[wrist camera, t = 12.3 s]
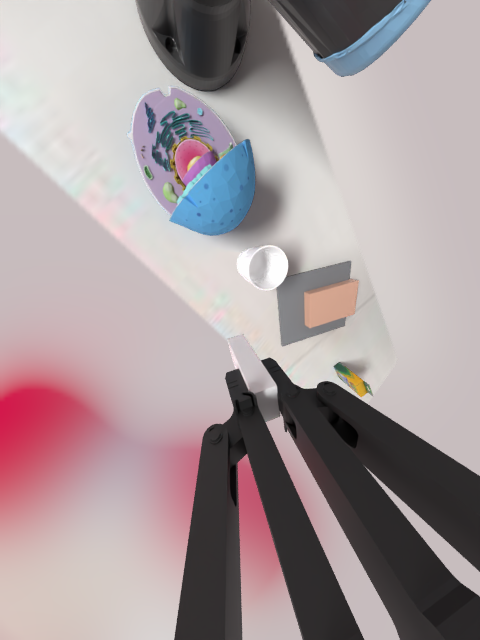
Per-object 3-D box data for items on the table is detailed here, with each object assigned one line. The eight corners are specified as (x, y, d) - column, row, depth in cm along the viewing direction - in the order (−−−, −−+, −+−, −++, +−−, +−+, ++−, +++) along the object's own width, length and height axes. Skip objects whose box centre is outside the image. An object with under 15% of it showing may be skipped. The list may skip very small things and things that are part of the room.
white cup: (266, 244, 39) (289, 244, 31) (265, 279, 43) (286, 288, 34) (232, 246, 38) (247, 246, 29) (234, 282, 41) (248, 292, 32)
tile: (309, 294, 44) (358, 280, 47) (304, 291, 46) (350, 278, 49) (309, 328, 48) (354, 314, 51) (304, 324, 51) (347, 311, 53)
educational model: (186, 88, 27) (188, -65, 14) (254, 204, 36) (295, 180, 22) (114, 159, 28) (49, 78, 14) (198, 256, 36) (205, 262, 23)
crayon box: (332, 366, 62) (361, 390, 52) (339, 361, 62) (369, 384, 52) (338, 377, 66) (366, 402, 56) (344, 373, 66) (374, 396, 55)
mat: (276, 279, 43) (277, 279, 43) (349, 260, 47) (351, 261, 47) (281, 345, 52) (282, 346, 51) (343, 325, 56) (344, 325, 55)
